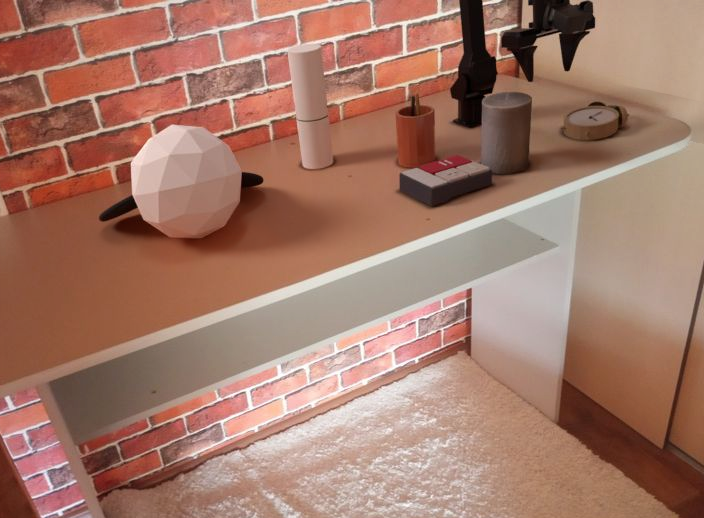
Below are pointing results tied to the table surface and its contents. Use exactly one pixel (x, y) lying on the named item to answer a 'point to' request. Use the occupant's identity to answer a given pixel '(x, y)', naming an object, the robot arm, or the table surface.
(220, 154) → the faceted geodesic sphere
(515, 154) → the pillar candle
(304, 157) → the cylindrical container
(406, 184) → the calculator
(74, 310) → the table surface
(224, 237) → the table surface
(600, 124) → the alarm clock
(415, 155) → the pen pot
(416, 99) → the pencils
